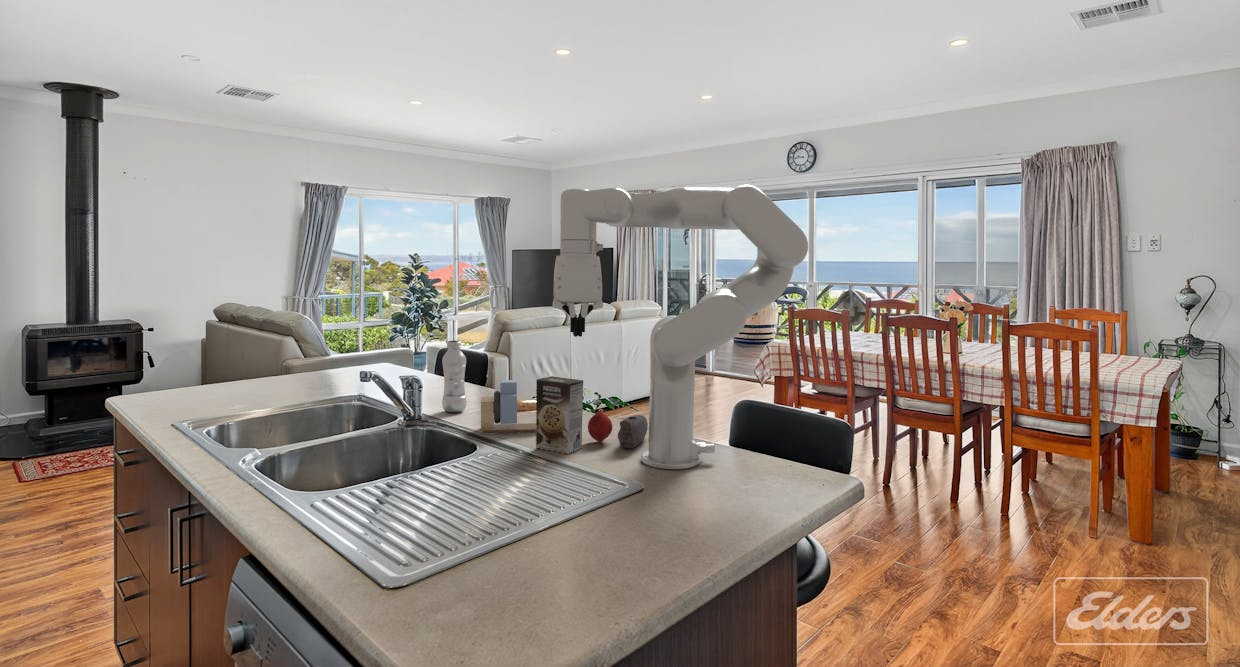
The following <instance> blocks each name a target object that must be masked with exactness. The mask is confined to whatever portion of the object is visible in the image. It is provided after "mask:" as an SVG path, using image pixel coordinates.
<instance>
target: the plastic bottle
mask: <svg viewBox="0 0 1240 667" xmlns="http://www.w3.org/2000/svg"><path fill="white" fill-rule="evenodd" d="M461 342H462V341H461V340H447V341H446V349H447V351H446V352H445V353H444V354H443V356H442V359H441V360H442V362H441V363H442V369H443V370H442V371H443V378H444V381H443V383H444V386H443V395H442V400H441V401H442V402H441V404H442V409H443V411H445V412H449V413H453V414H454V413H459V412H463V411H464V410H465V409H466V408H467V396H466V391H465V378H466V377H465V375H466V374H465V373H466V365H467V356H466V355H465V354H464V353H463V352H462V350H461V348H462V345H461V344H462V343H461Z"/></svg>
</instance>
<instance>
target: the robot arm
mask: <svg viewBox="0 0 1240 667" xmlns="http://www.w3.org/2000/svg"><path fill="white" fill-rule="evenodd" d="M597 223H599V224H606V225H608V226H610V227H613V228H615V227H616V228H663V229H665V228H666V229H671V230H672V229H673V230H722V231H723V230H728V231H729V230H731V231H732V230H733V231H734V230H735V231H740V232H741V233H742V234H743V235H744V236H745V237H746V238H747V239H748V240H749V241H750V242H751V243H752V244H753V245H754V246H755V247H756V249H757V250H756V252H757V255H756V260H755V262H754V264H753V265H752V266H751V267H750V268H749V269H747V271H745V272H744V273H742V274H740V275H739V276H737V277H736V278H734V279H733V280H730V281H729V282H728V283H726V284H724V285H722V286H721V287H718V288H717V289H715V290H712V291H711V292H708V293H707V294H705V295H704V296H702V297H701V298H700V299H699V301H698V302H697V303H696V304H695V305H694V306H692V307H690V308H688V309H686V310H685V311H683V312H682V313H680V314H678V315H667V316H664V317H662V318H660V319H658V321H656V323H655V324H654V325H653V327H652V329H651V333H650V340H649V341H650V342H649V352H650V355H649V356H650V359H649V360H650V363H649V364H650V366H649V367H650V368H649V370H650V371H649V372H650V376H649V377H650V378H649V381H650V382H649V406H648V407H649V409H648V411H649V413H648V415H649V417H648V418H649V419H648V450H645V451H643V452H642V453H641V456H640V457H641V460H640V461H641V462H642V463H643V464H644V465H647V466H649V467H652V468H657V469H662V470H663V469H664V470H665V469H666V470H686V469H690V468H693V467H696V466H698V465H699V464H700V460H701V459H700V455H701V454H703V453H705V454H714V453H715V450H716V449H715V445H714V443H706V442H704V441H703V442H696V441H695V440H694V418H695V417H694V416H695V413H694V412H695V411H694V410H695V388H696V387H695V386H696V384H695V383H696V378H695V376H696V374H695V373H696V372H695V371H696V362H695V361H696V360H698V359H701V358H702V357H704V356H705V355H708V354H709V353H710V352H712V351H714V350H716V349H717V348H719V347H721V346H722V345H724V344H726V343H728V342H729V341H732V340H733V339H734V338H735V337H736V336H737V335H739V334H740V333H741V331H743V329H744V327H745V325H746V323H747V319H749V318H751V317H753V315H756V314H757V313H759V312H760V311H761V310H764V309H765V308H767V307H768V306H770V305H771V304H773V303H774V302H776V300H778V299H779V298H780V297H781V296H782V295H783V294H784V292H785V291H786V289H787V288H788V286H789V284H790V282H791V280H792V276H793V273H794V268H795V267H796V266H799V265H800V264H801V263H803V261H804V260H805V258H806V256H807V254H808V250H809V242H808V241H809V240H808V238H807V236H806V234H805V232H804V231H803V230H802V229H801V227H800V226H799V225H797V223H795V222H794V221H793V220H792V219H791V218H790V216H788V215H787V214H786V213H785V212H784V211H783V210H782V209H781V208H780V207H779V206H778V205H777V204H776V203H775V202H774V201H773V200H772V199H771V198H770V197H769V196H768V195H766V193H764V192H763V191H762V190H761V189H760V188H758V187H756V186H755V185H754V186H753V185H750V184H741V185H738V186H736V187H734V188H733V187H690V186H689V187H688V186H687V187H677V188H676V187H675V188H672V189H669V190H665V191H659V192H627V191H626V190H625V189H622V188H619V187H607V188H606V187H605V188H600V189H599V188H598V189H587V188H569V189H564V190H563V191H562V193H561V195H560V241H559V242H560V246H559V247H560V250H559V252H560V255H556V257H555V264H554V270H553V272H554V273H553V289H552V290H553V291H552V292H553V294H552V295H553V299H552V300H553V301H552V307H553V308H555V309H557V310H563V311H564V312H565V313H567V315H568V316H569V318H570V321H569V322H570V323H569V324H570V325H569V326H570V327H569V330H570V333H572V335H573V337H575V338H576V337H579V338H580V337H582V338H583V333H586V317H587V316H589V314H590V313H591V312H592V311H593V310H599V309H602V308H603V307H604V304H603V299H602V298H603V279H602V278H603V277H602V267H601V259H600V256H599V255H597V253H598V252H600V251H604V250H603V249H604V244H603V243H601V244H600V243H599V242H597ZM575 304H580V310H579V313H578V316H577V313H576V309H575V308H576V307H575V306H576V305H575Z"/></svg>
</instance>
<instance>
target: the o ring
mask: <svg viewBox="0 0 1240 667" xmlns="http://www.w3.org/2000/svg"><path fill="white" fill-rule="evenodd" d="M493 397H494V424H501V414H500V390H495V391H494V392H493Z"/></svg>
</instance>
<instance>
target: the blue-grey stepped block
mask: <svg viewBox="0 0 1240 667" xmlns="http://www.w3.org/2000/svg"><path fill="white" fill-rule="evenodd" d="M517 381H518V380H516V379H510V380H508V379H507V380H506V379H505V380H500V382H499V386H500V387H499V388H500V390H499V392H500V414H501V421H500V424H518V413H517V401H518V395H517V392H518V391H517V390H518V388H517V387H518V386H517Z"/></svg>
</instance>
